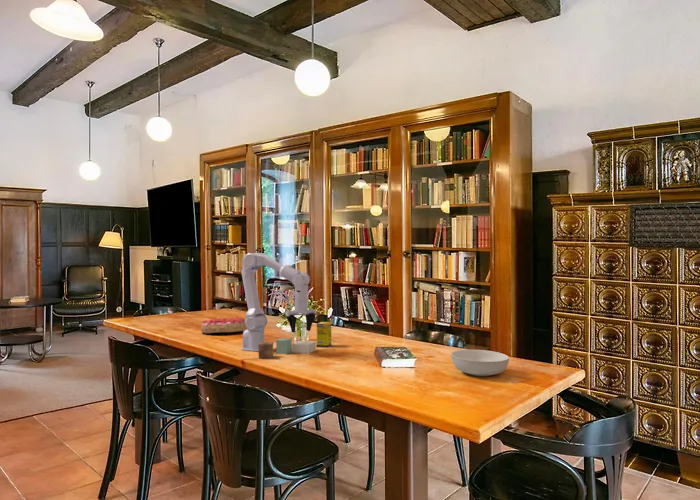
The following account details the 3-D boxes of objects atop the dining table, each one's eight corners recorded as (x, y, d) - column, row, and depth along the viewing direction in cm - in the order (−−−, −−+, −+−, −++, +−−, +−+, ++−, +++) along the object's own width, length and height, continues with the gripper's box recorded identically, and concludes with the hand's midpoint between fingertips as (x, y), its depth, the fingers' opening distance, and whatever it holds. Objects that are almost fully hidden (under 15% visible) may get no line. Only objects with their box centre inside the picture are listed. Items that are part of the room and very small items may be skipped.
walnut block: (258, 358, 210) (258, 344, 210) (261, 356, 215) (261, 342, 215) (270, 358, 210) (270, 344, 210) (273, 356, 215) (273, 342, 215)
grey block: (292, 352, 223) (292, 343, 223) (299, 349, 231) (299, 340, 231) (308, 354, 220) (308, 345, 220) (315, 350, 228) (315, 341, 228)
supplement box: (328, 347, 234) (328, 323, 234) (316, 346, 235) (316, 323, 235) (331, 344, 240) (331, 322, 240) (319, 344, 241) (319, 321, 241)
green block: (276, 353, 221) (276, 339, 221) (281, 351, 225) (281, 337, 225) (286, 354, 219) (286, 340, 219) (291, 352, 224) (291, 338, 224)
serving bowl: (500, 383, 171) (500, 363, 171) (442, 375, 182) (442, 356, 182) (515, 371, 189) (515, 352, 189) (461, 364, 200) (461, 347, 200)
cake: (232, 335, 261) (232, 319, 262) (191, 334, 268) (191, 319, 269) (254, 330, 285) (254, 316, 285) (216, 330, 292) (215, 316, 292)
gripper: (291, 302, 213) (290, 334, 213) (320, 300, 222) (319, 331, 222) (283, 300, 219) (283, 331, 219) (311, 299, 227) (311, 328, 227)
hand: (301, 331), depth 221 cm, fingers open, 7 cm apart
